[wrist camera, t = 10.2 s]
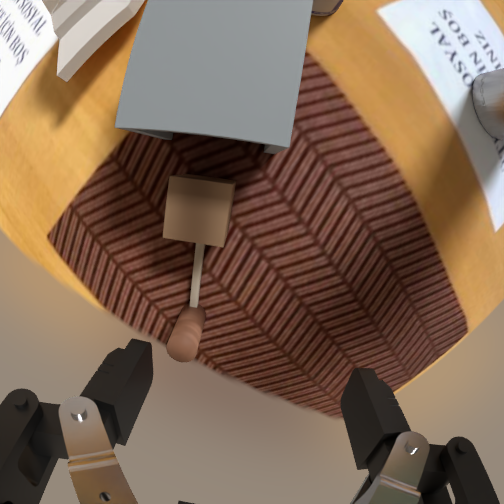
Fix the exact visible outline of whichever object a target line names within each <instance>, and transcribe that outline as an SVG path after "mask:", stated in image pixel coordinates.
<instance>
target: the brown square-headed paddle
mask: <svg viewBox="0 0 504 504" xmlns="http://www.w3.org/2000/svg"><path fill="white" fill-rule="evenodd" d="M235 186H236V181H235V180H228V179H221V178H215V177H208V176H200V175H193V174H179V175H173V176H170V177H169V184H168V192H167V201H166V210H165V219H164V229H163V238H168V239H174V240H181V241H187V242H193V243H196V249H195V258H194V267H193V276H192V286H191V296H190V303H188V304H186V305H185V306H184V307H183V308H182V310H181V313H180V315H179V317H178V320H177V322H176V324H175V327H174V329H173V331H172V334H171V336H170V338H169V341H168V343H167V346H166V349H167V352H168V354H169V355H170V356H171V358H173V359H174V360H176V361H179V362H189V361H191V360H193V359H194V358H195V356H196V353H197V349H198V345H199V341H200V338H201V334H202V330H203V326H204V322H205V319H206V312H205V310H204V308H203V307H202V306H201V305H199V304H198V300H199V290H200V281H201V273H202V264H203V256H204V248H205V244H206V245H212V246H218V247H223V246H224V243H225V240H226V237H227V233H228V230H229V223H230V217H231V210H232V204H233V198H234V192H235Z"/></svg>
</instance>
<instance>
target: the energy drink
mask: <svg viewBox="0 0 504 504" xmlns="http://www.w3.org/2000/svg"><path fill="white" fill-rule="evenodd" d="M342 2H343V0H313V5H312V11H311V14H312V15H316V16H326V15H330V14H333V13H334V12H336V11H337V10H338V8H339V7H340V5H341V4H342Z"/></svg>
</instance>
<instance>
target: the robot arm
mask: <svg viewBox="0 0 504 504" xmlns="http://www.w3.org/2000/svg"><path fill="white" fill-rule="evenodd" d="M473 101H474V106H475V110H476V113H477V115H478V118H479V120H480V122H481V123H482V125H483V127H484V128H485V129H486V131H487V132H488V133H489V134H490V135H491V136H493V137H494V138H496V139H500V140H504V68H502V69H498V70H494V71H491V72H487V73H483V74H480V75H478V76H477V77H476V79H475V81H474V84H473ZM152 379H153V362H152V345H151V343H150V342H146V341H141V340H137V339H131V340H130V342H129V343H128V345H127V346H126V348H125V349H121V348H117V349H115V350H114V351H112V352H111V353H109V354H108V355H107V357H106V358H105V359H104V361H103V363H102V364H101V365H100V367H99V368H98V371H96V372H95V374H94V375H93V377H92V378H91V380H90V381H89V383H88V384H87V386H86V387H85V389H84V390H83V392H82V393H81V395H80V396H77V397H76V396H75V397H71V398H68V399H66V400H65V401H64V402H63V403H62V404H51V403H43V402H39V400H38V398H37V396H36V395H35V393H33V392H32V391H30V390H28V389H16V390H14V391H12V392H11V393H9V394H8V395H7V397H6V398H5V399H4V401H3V402H2V403H1V405H0V504H39V502H40V500H41V498H42V495H43V493H44V490H45V488H46V485H47V483H48V481H49V479H50V476H51V474H52V472H53V469H54V467H55V465H56V463H57V460H58V458H62V459H69V461H70V462H68V468H69V472H70V475H71V479H72V482H73V485H74V488H75V491H76V494H77V497H78V500H79V502H80V504H138V502H137V501H136V499H135V497H134V495H133V493H132V491H131V489H130V487H129V485H128V483H127V480H126V478H125V477H124V474H123V472H122V470H121V467H120V465H119V463H118V460H117V458H116V456H115V454H114V452H113V449H114V447H115V444H116V443H117V444H121V445H124V446H125V445H126V443H127V440H128V438H129V436H130V433H131V430H132V428H133V426H134V423H135V421H136V419H137V417H138V414H139V412H140V409H141V407H142V405H143V403H144V400H145V398H146V396H147V393H148V391H149V389H150V386H151V384H152ZM398 405H399V404H398V402H397V400H396V399H395V396H394V393H393V391H392V389H391V388H390V387H389V386H388V385H387V384H386V383H385V382H384V381H383V380H379V379H378V377H377V375H376V373H375V371H374V369H372V368H355V369H354V370H353V371H352V374H351V376H350V378H349V381H348V383H347V385H346V387H345V390H344V392H343V394H342V397H341V410H342V414H343V417H344V421H345V424H346V428H347V432H348V436H349V439H350V443H351V447H352V450H353V455H354V458H355V462H356V466H357V469H358V470H361V469H368V471H369V474H368V475H367V477H366V478H365V480H364V482H363V483H362V485H361V487H360V489H359V490H358V492H357V493H356V495H355V496H354V498H353V500H352V501H351V503H350V504H452V501H451V498H450V496H449V493H448V490H447V487H446V485H448V483H450V485H451V488H452V491H453V493H454V496H455V504H500V503H499V500H498V498H497V495H496V493H495V491H494V488H493V486H492V484H491V481H490V479H489V477H488V474H487V472H486V470H485V468H484V466H483V464H482V462H481V459H480V457H479V455H478V453H477V451H476V449H475V447H474V445H473V444H472V443H471V442H470V441H469V440H468V439H466V438H464V437H454V438H452V439H451V440H450V441H449V442H448V443H447V444H446V446H445V445H433V444H429V443H428V441H427V439H426V438H425V437H424V436H423V435H421V434H419V433H417V432H413V431H411V429H410V427H409V425H408V423H407V421H406V418H405V416H404V414H403V412H402V410H401V408H400V406H398ZM178 504H194V503H188V502H183V501H179V502H178Z"/></svg>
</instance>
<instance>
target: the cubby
mask: <svg viewBox="0 0 504 504" xmlns="http://www.w3.org/2000/svg"><path fill="white" fill-rule="evenodd" d="M312 5H313V0H148V2H147V4H146V7H145V10H144V13H143V16H142V19H141V22H140V25H139V28H138V31H137V34H136V37H135V41H134V44H133V47H132V51H131V55H130V58H129V62H128V66H127V70H126V74H125V78H124V82H123V87H122V91H121V96H120V101H119V106H118V111H117V116H116V122H115V128H119V129H124V130H128V131H132V132H136V133H140V134H144V135H148V136H152V137H156V138H160V139H166V140H172V137H173V132H177V133H187V134H196V135H205V136H213V137H221V138H228V139H235V140H241V141H248V142H254V143H260V144H265V147H264V153H270V154H276V153H278V152H280V151H282V150H285V149H287V148H289V145H290V139H291V133H292V128H293V122H294V116H295V110H296V105H297V99H298V93H299V87H300V81H301V75H302V68H303V62H304V56H305V50H306V44H307V37H308V31H309V24H310V18H311V11H312Z"/></svg>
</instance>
